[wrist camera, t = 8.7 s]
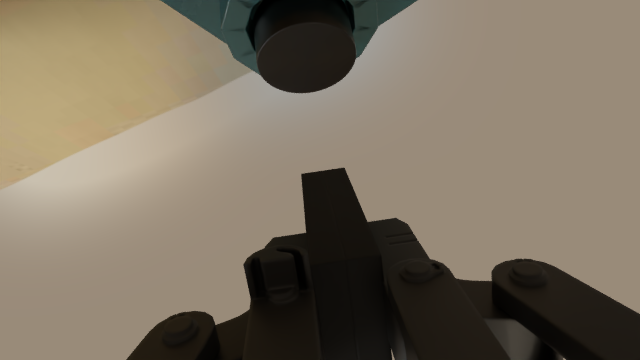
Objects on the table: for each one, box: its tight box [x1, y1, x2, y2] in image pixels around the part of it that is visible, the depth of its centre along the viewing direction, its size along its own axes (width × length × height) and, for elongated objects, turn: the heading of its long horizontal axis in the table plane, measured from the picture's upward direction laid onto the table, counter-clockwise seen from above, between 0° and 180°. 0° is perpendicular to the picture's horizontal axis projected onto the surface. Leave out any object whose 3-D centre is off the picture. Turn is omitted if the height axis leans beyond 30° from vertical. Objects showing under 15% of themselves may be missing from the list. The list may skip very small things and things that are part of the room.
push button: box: [253, 0, 356, 93], centre depth 22 cm, size 5×5×3 cm
